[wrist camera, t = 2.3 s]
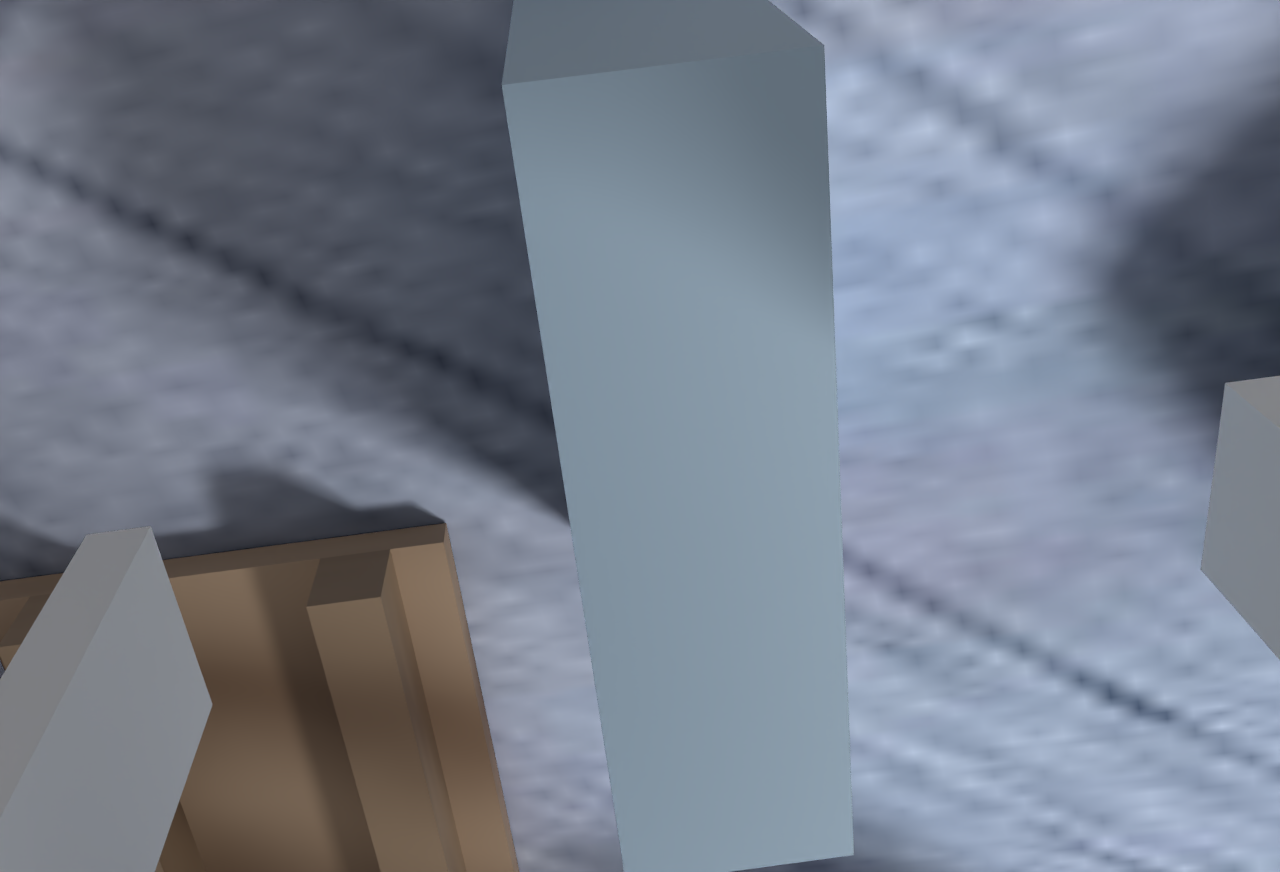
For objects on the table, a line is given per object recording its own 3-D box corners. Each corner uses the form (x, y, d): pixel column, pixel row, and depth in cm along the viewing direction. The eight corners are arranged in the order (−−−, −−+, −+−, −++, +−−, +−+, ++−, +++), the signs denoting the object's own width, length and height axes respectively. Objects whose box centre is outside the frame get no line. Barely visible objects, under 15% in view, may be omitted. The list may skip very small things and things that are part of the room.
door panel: (752, 519, 28) (853, 854, 19) (598, 540, 28) (626, 886, 19) (709, -47, 22) (824, 44, 13) (516, -24, 22) (502, 85, 13)
